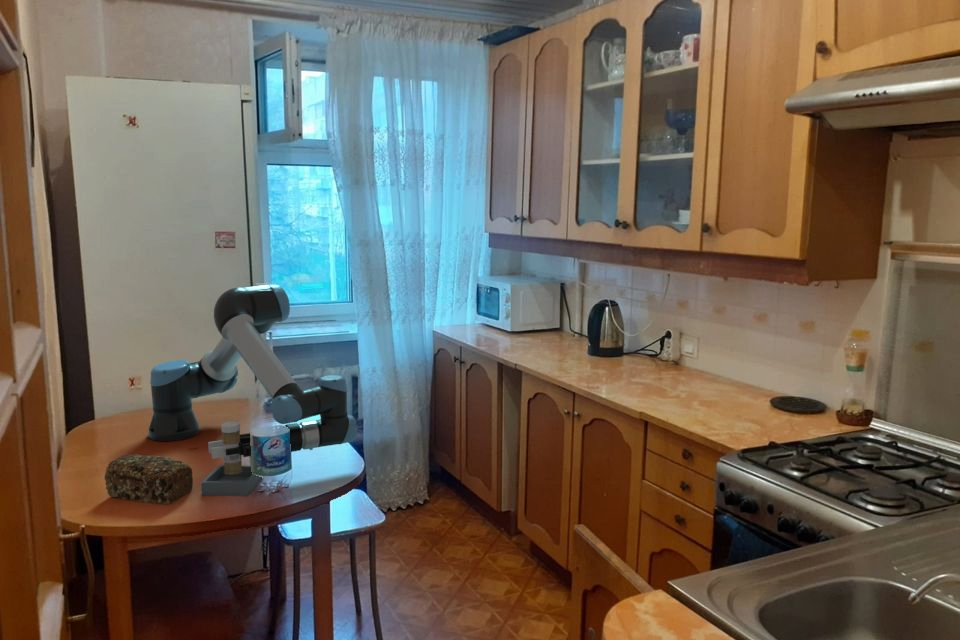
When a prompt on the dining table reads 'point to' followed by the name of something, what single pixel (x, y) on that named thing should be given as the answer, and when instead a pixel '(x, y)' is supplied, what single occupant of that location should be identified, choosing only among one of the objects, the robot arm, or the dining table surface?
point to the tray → (230, 482)
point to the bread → (148, 478)
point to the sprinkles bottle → (229, 438)
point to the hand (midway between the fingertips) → (210, 450)
